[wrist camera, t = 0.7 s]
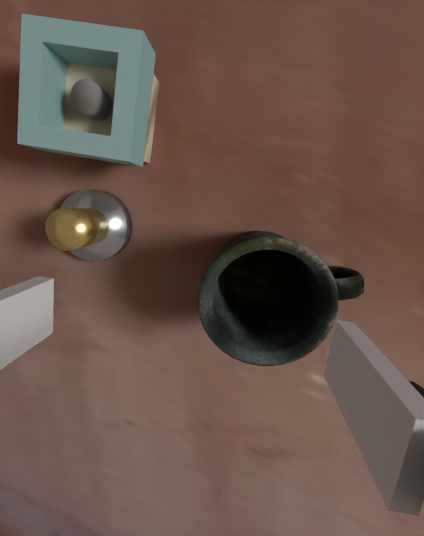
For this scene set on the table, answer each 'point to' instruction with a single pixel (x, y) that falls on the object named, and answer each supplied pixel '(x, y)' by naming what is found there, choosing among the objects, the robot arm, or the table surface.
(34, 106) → the teal square ring
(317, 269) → the mug
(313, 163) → the table surface
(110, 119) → the stand
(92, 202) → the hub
